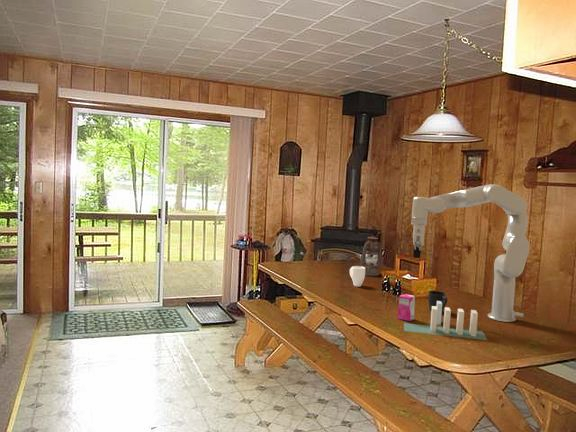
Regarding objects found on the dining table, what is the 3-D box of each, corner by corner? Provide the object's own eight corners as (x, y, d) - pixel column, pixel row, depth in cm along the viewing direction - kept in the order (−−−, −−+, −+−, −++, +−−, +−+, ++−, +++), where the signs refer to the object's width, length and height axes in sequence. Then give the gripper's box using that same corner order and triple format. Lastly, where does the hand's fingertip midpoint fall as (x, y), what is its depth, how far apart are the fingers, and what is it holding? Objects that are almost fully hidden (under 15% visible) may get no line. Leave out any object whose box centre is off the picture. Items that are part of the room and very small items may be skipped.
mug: (437, 315, 240) (438, 296, 239) (424, 309, 252) (425, 290, 251) (452, 315, 242) (453, 296, 242) (438, 308, 254) (439, 290, 253)
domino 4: (460, 331, 216) (462, 308, 215) (462, 335, 211) (464, 312, 210) (456, 330, 216) (457, 308, 216) (457, 334, 211) (459, 311, 210)
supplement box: (402, 317, 235) (404, 293, 234) (414, 319, 231) (415, 296, 230) (397, 319, 231) (398, 295, 230) (408, 322, 227) (410, 298, 226)
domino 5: (474, 332, 215) (475, 310, 214) (476, 336, 209) (477, 313, 209) (469, 332, 215) (471, 309, 214) (471, 335, 210) (472, 313, 209)
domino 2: (439, 322, 229) (441, 301, 229) (440, 325, 224) (442, 304, 223) (435, 321, 230) (436, 300, 229) (436, 325, 224) (437, 303, 224)
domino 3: (447, 329, 217) (449, 307, 216) (449, 333, 212) (450, 310, 211) (443, 329, 218) (444, 307, 217) (444, 333, 212) (445, 310, 211)
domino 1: (434, 328, 218) (436, 306, 217) (435, 332, 213) (437, 309, 212) (430, 327, 219) (431, 305, 218) (431, 331, 213) (432, 309, 213)
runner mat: (482, 332, 217) (482, 331, 217) (487, 340, 205) (487, 340, 205) (403, 323, 224) (403, 322, 224) (403, 331, 213) (404, 330, 213)
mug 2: (367, 286, 297) (368, 268, 296) (356, 287, 293) (357, 268, 292) (354, 282, 308) (355, 264, 307) (344, 283, 304) (345, 265, 303)
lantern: (356, 273, 337) (359, 222, 334) (375, 272, 344) (378, 222, 342) (365, 276, 328) (368, 224, 325) (385, 275, 335) (388, 224, 332)
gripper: (427, 223, 232) (424, 259, 234) (426, 221, 249) (424, 254, 250) (411, 222, 234) (408, 258, 235) (411, 219, 251) (408, 253, 252)
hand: (416, 256), depth 243 cm, fingers open, 9 cm apart
